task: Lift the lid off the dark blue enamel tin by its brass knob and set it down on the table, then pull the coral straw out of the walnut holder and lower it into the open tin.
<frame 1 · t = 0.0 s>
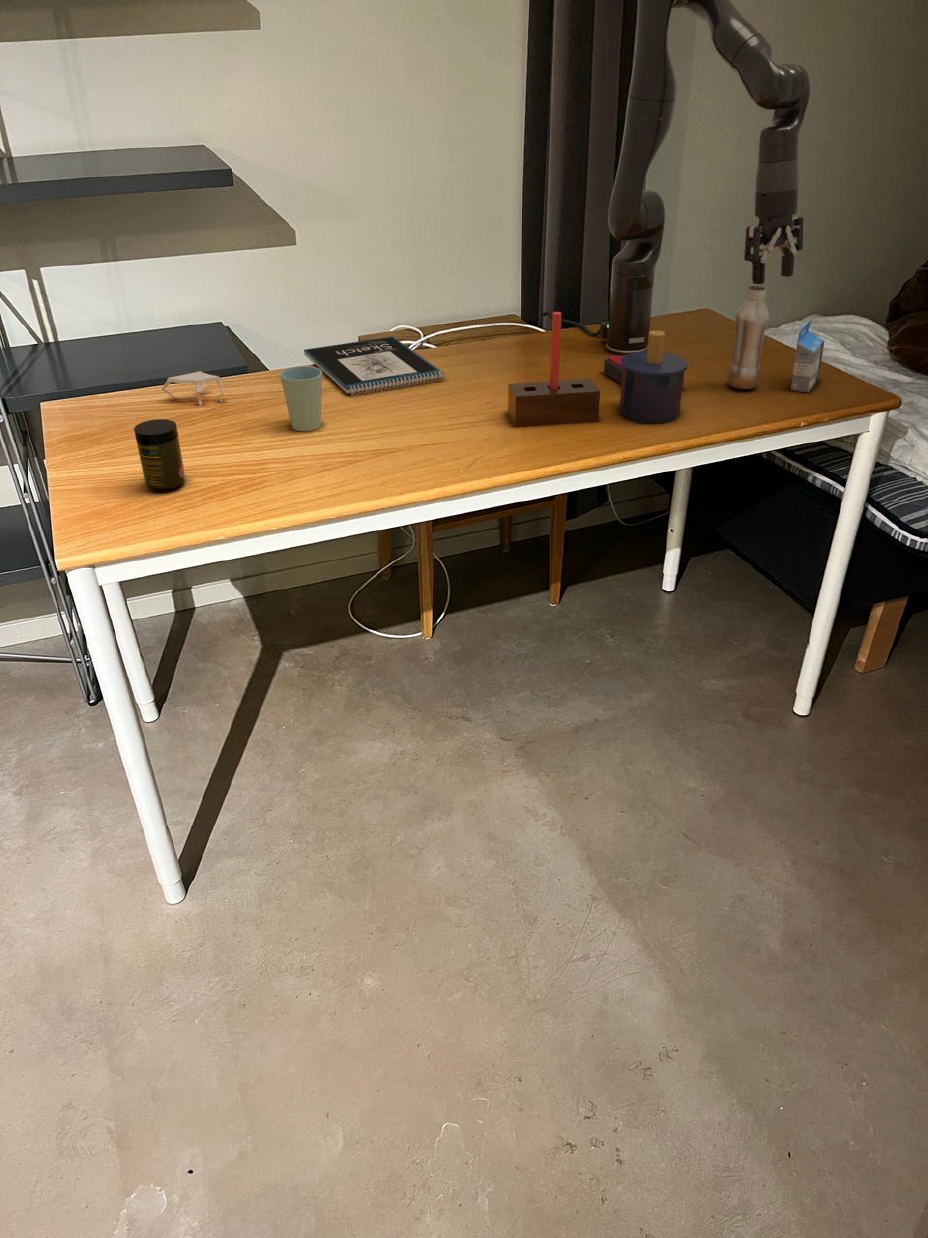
hand: (772, 279, 189), 22 cm above the table, tool pointing down, fingers open, 8 cm apart
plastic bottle: (741, 388, 204), on the table
straw holder: (552, 417, 191), on the table
origami figure: (194, 400, 200), on the table
straw: (554, 366, 185), in the straw holder
tin: (649, 412, 192), on the table
label tape box: (803, 385, 205), on the table
cup: (306, 426, 188), on the table
supplement container: (166, 486, 167), on the table
calculator: (642, 382, 207), on the table
sketchbook: (372, 368, 216), on the table
tin lid: (653, 364, 187), point 9 cm above the table, touching tin
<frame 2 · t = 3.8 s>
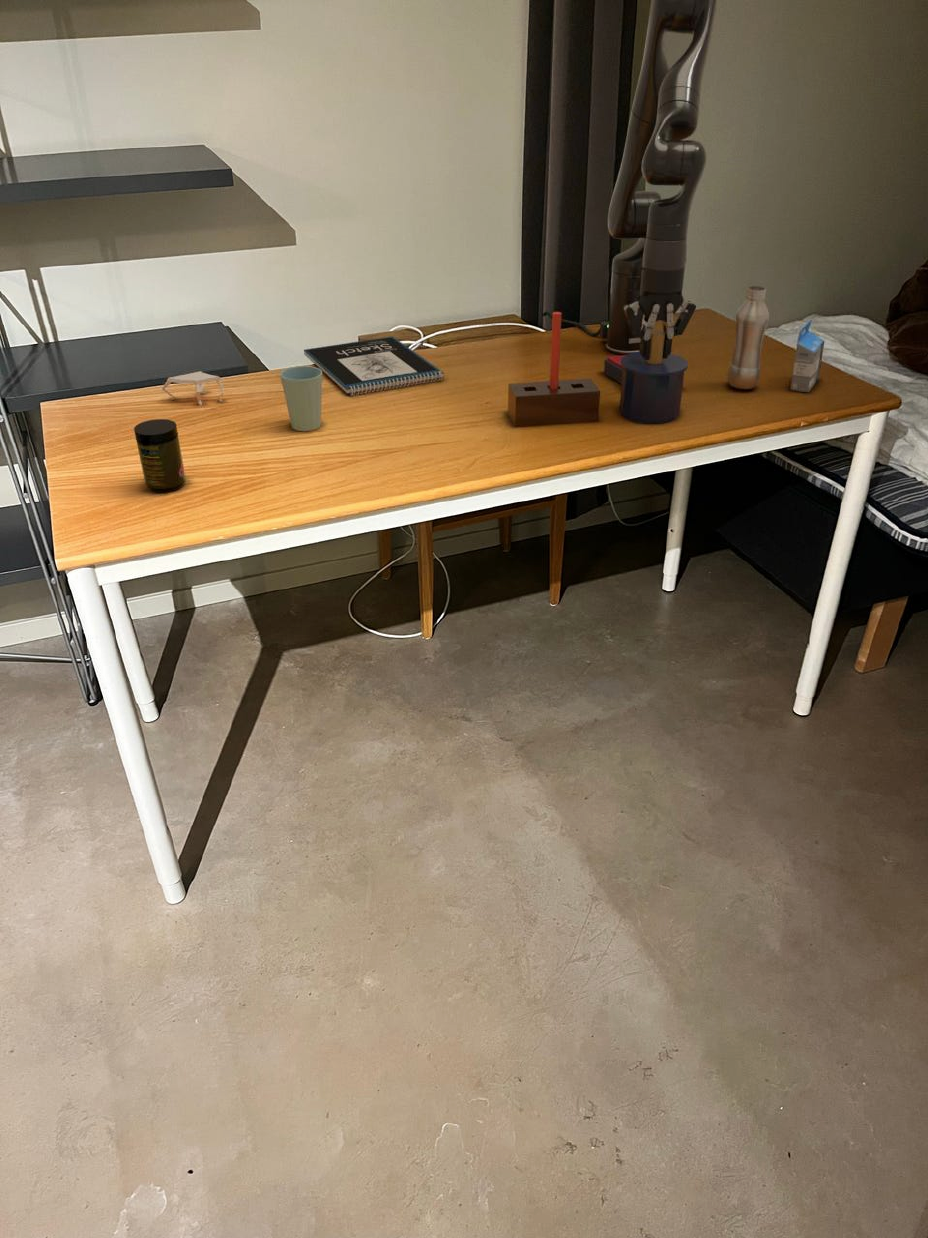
hand: (654, 357, 186), 11 cm above the table, tool pointing down, fingers closed on tin lid, 3 cm apart
tin lid: (653, 364, 187), point 10 cm above the table, touching gripper, tin
everything else where it was.
when the fingers open (2 cm above the table, at t = 13.8 s): tin lid stays where it is, point 1 cm above the table.
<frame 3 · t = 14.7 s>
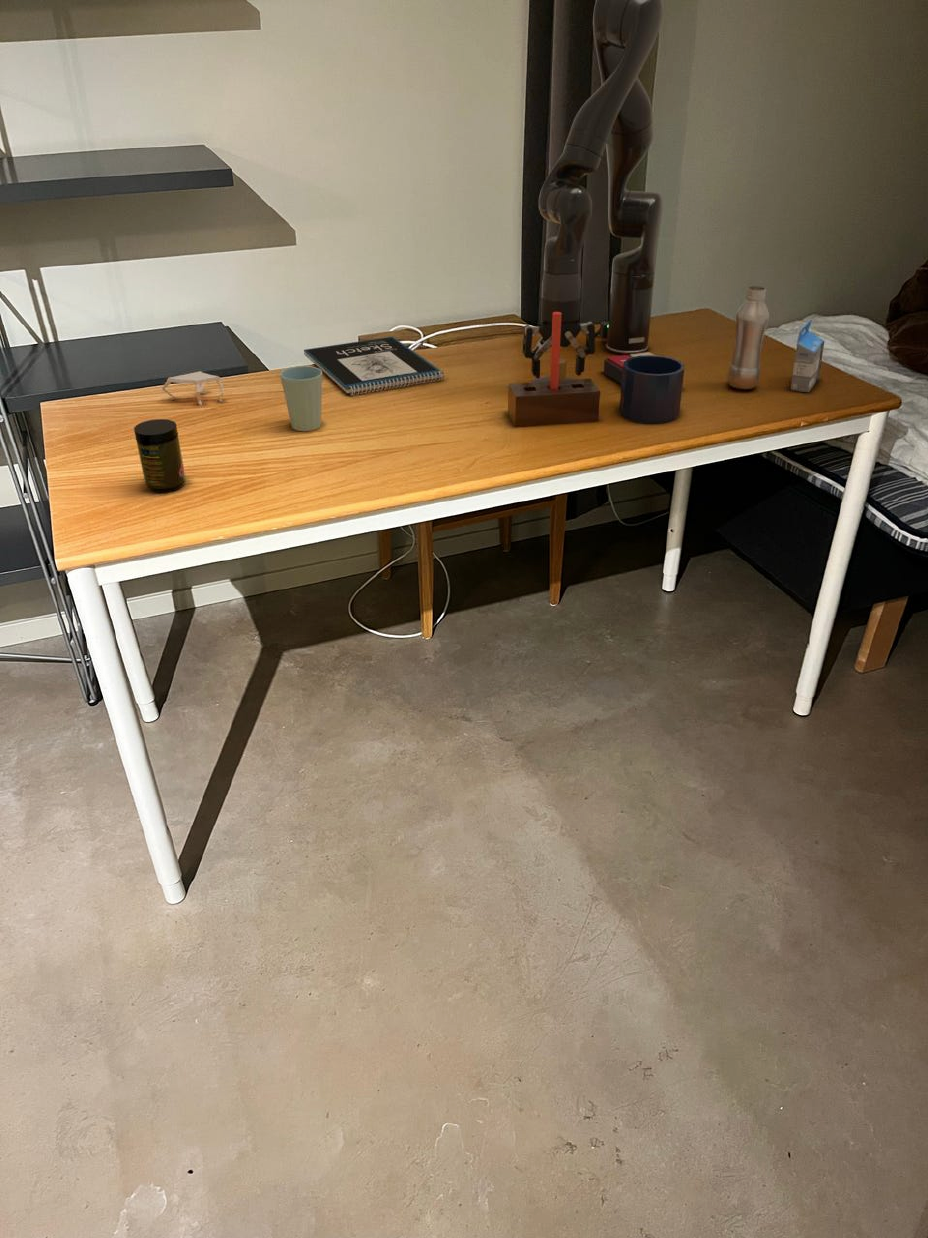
hand: (557, 375, 200), 3 cm above the table, tool pointing down, fingers open, 8 cm apart
tin lid: (557, 389, 202), point 1 cm above the table
everything else where it was.
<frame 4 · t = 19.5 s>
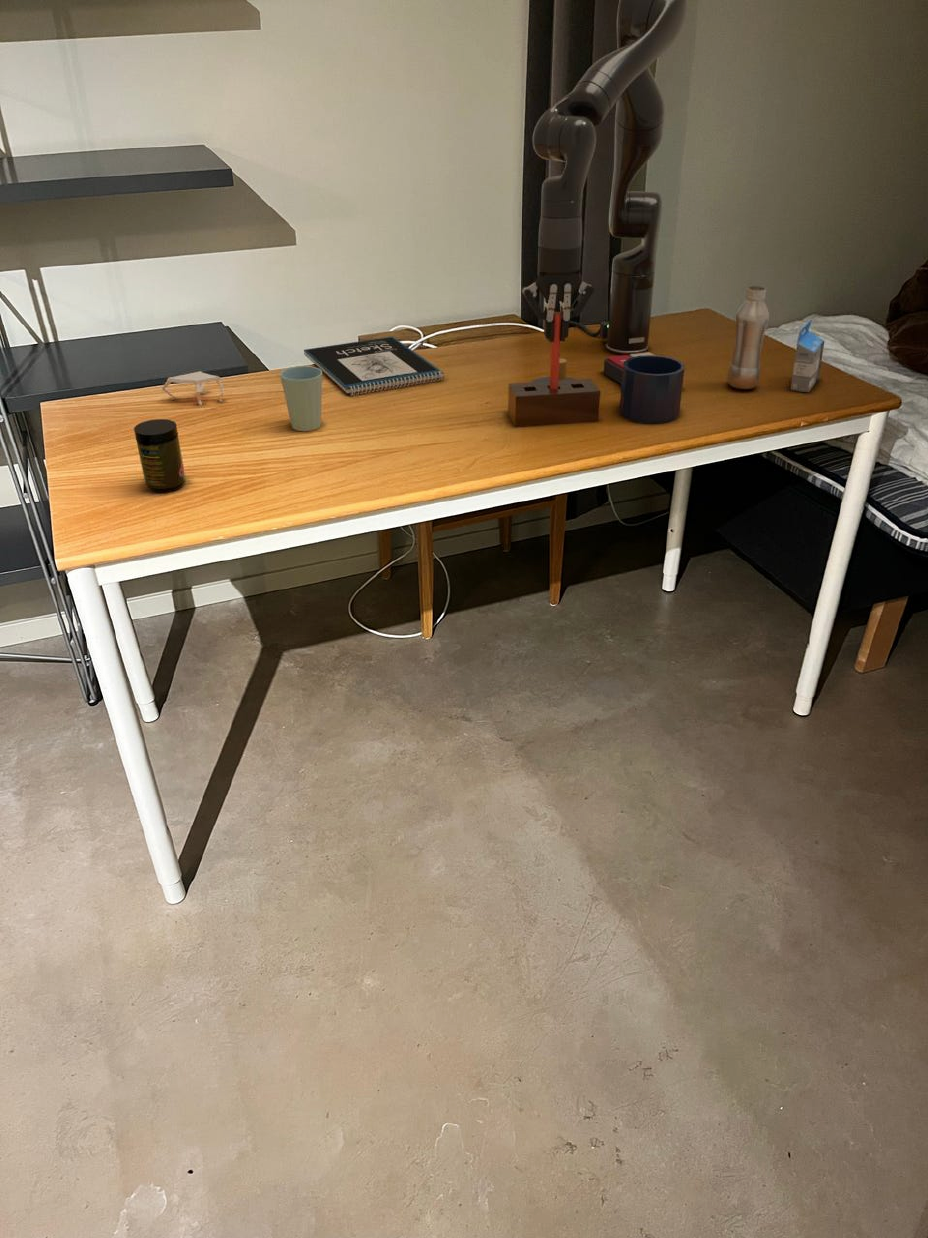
hand: (555, 339, 183), 15 cm above the table, tool pointing down, fingers closed on straw, 1 cm apart
straw: (554, 366, 185), in the straw holder, touching gripper
everything else where it was.
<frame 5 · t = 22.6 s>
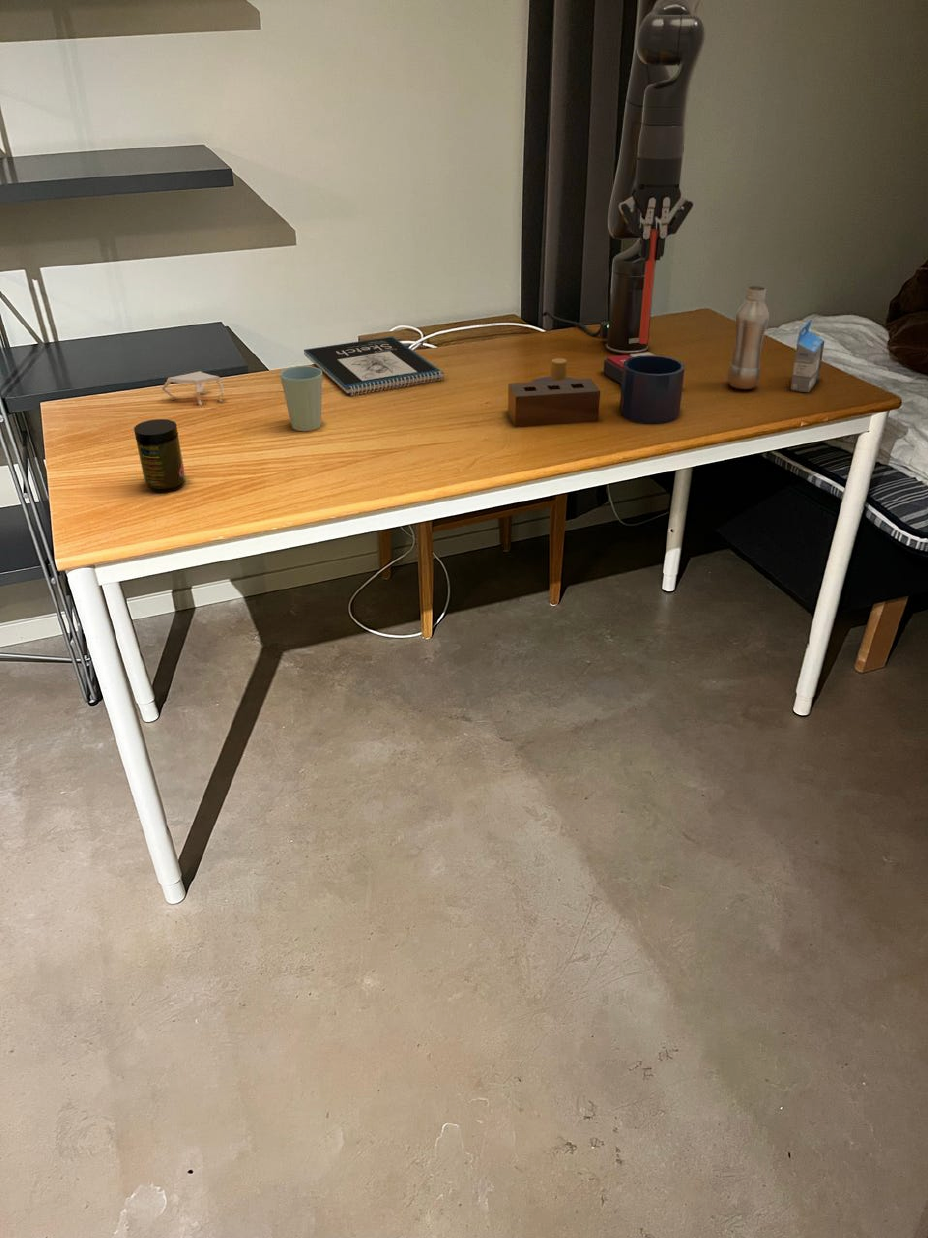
hand: (650, 259, 177), 29 cm above the table, tool pointing down, fingers closed on straw, 1 cm apart
straw: (647, 287, 179), point 24 cm above the table, touching gripper
everything else where it was.
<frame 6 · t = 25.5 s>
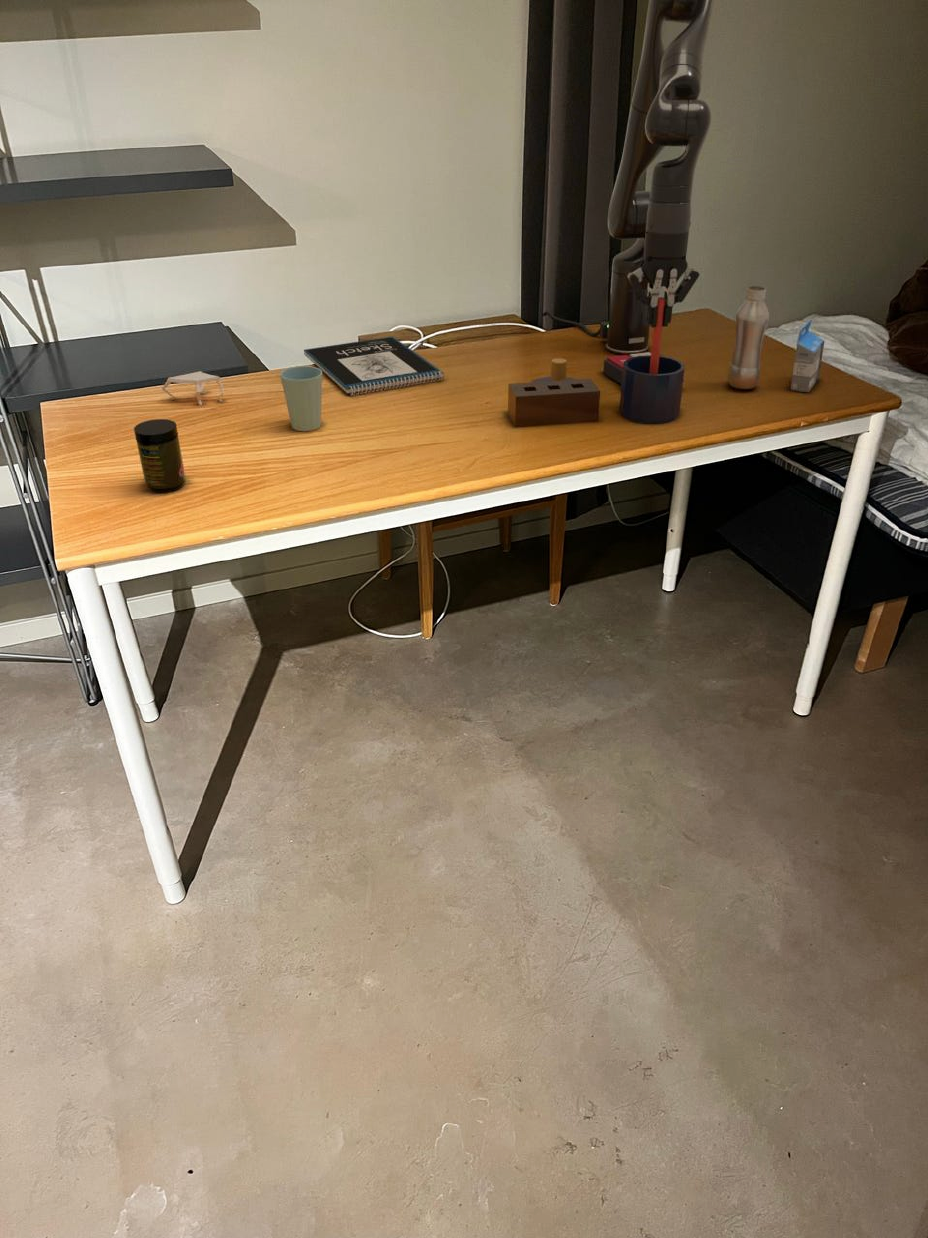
hand: (657, 325, 183), 17 cm above the table, tool pointing down, fingers closed on straw, 1 cm apart
straw: (655, 352, 186), in the tin, point 12 cm above the table, touching gripper
everything else where it was.
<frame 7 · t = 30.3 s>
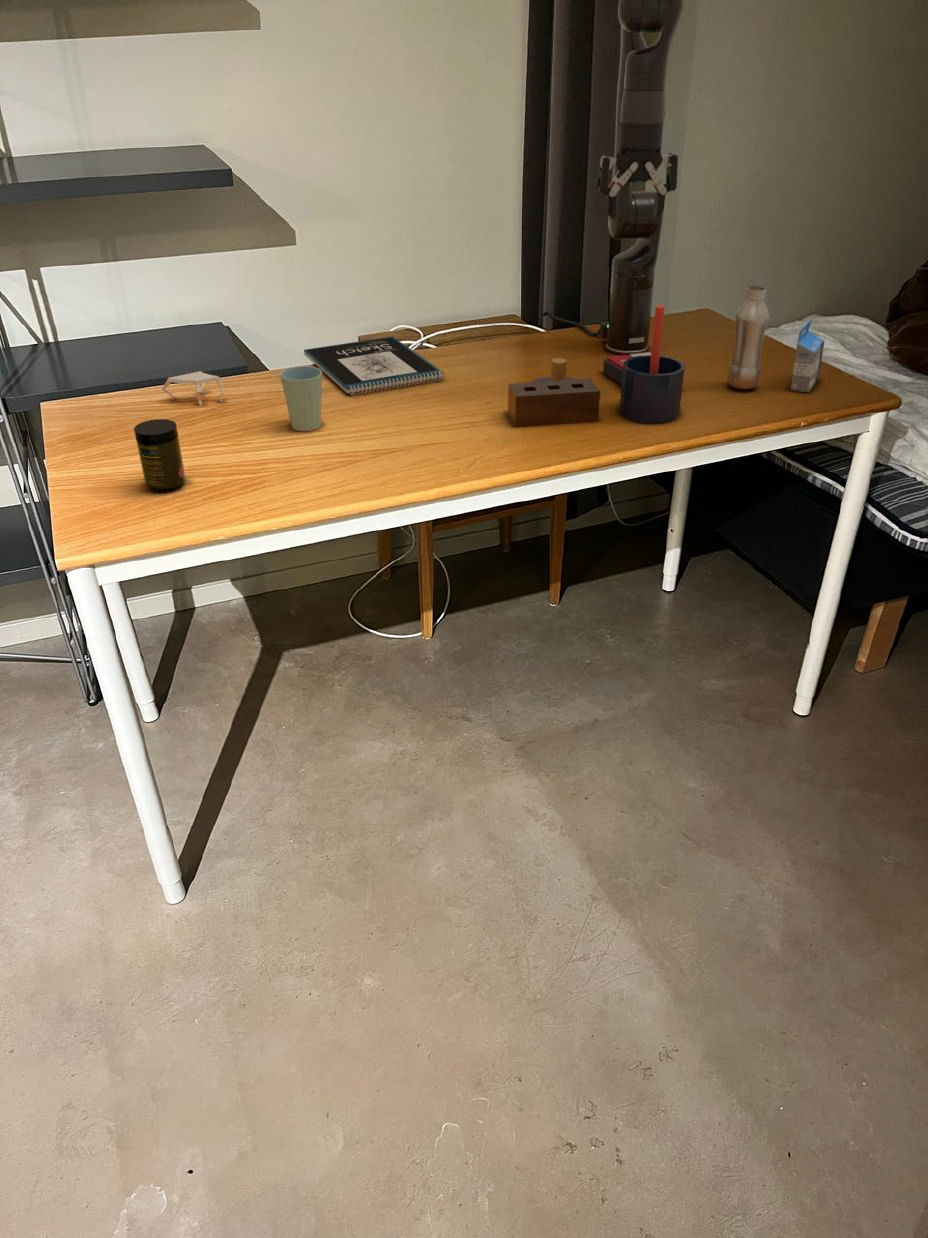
hand: (634, 216, 182), 34 cm above the table, tool pointing down, fingers open, 8 cm apart
straw: (654, 359, 187), in the tin
everything else where it was.
at the end: tin lid inside the target area (0.2 cm from its centre), point 0.6 cm above the table; straw inside the target area in the tin (0.1 cm from its centre), point 10.5 cm above the tin's base; the gripper is holding nothing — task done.
